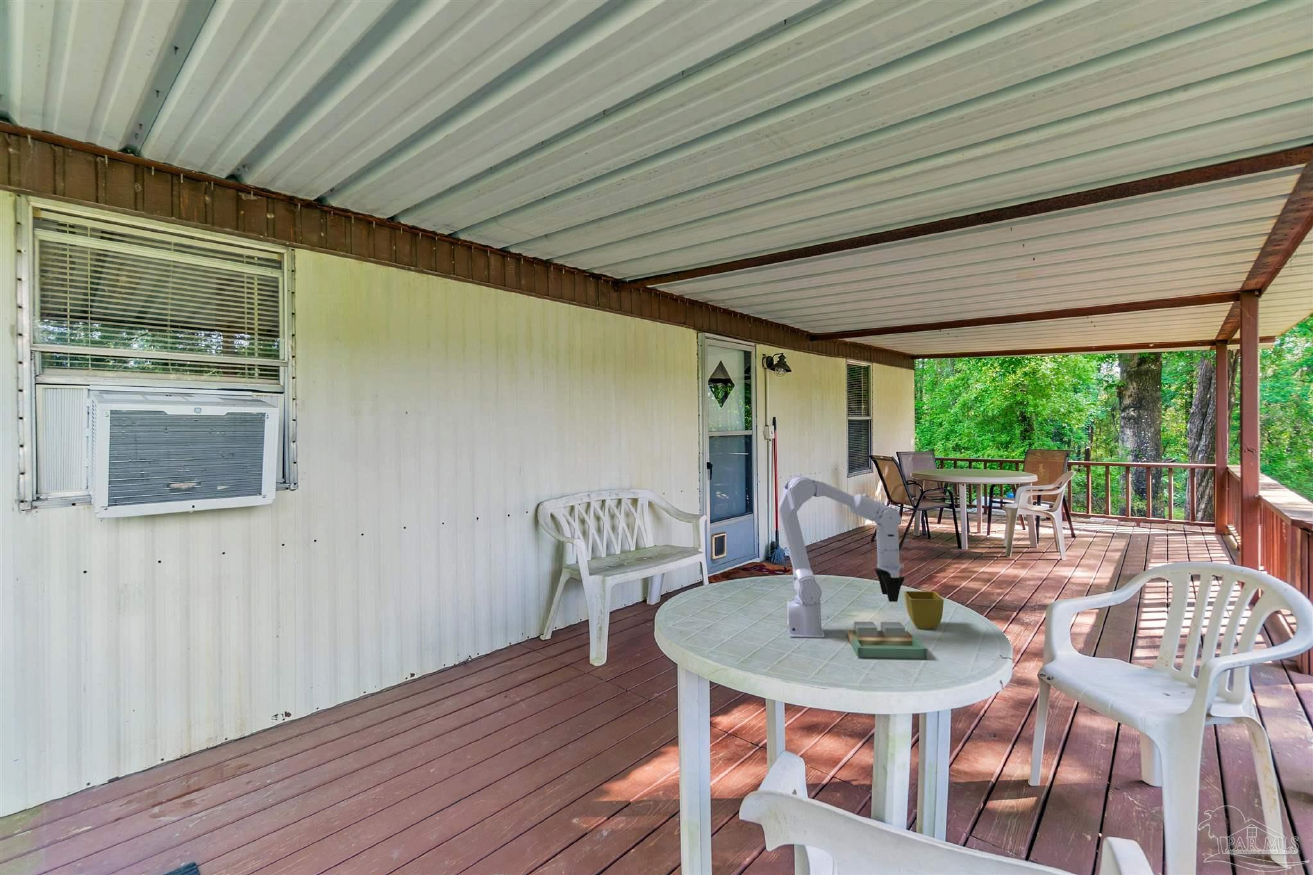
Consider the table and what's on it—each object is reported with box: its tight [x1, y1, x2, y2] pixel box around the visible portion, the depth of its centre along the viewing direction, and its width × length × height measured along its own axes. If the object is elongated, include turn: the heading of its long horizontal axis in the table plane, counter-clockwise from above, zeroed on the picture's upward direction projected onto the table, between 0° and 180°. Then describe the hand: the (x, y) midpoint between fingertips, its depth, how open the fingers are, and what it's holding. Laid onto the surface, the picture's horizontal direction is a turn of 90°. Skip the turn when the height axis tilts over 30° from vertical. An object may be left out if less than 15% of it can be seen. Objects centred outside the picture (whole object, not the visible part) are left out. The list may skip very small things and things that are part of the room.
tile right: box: [880, 621, 906, 638], centre depth 154 cm, size 5×5×2 cm
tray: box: [851, 636, 928, 660], centre depth 145 cm, size 16×8×2 cm, turn 81°
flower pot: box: [903, 590, 945, 630], centre depth 164 cm, size 9×9×9 cm
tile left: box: [853, 621, 878, 637], centre depth 155 cm, size 5×5×2 cm
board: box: [846, 629, 913, 646], centre depth 153 cm, size 16×8×2 cm, turn 81°
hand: (889, 597), depth 161 cm, fingers open, 7 cm apart
